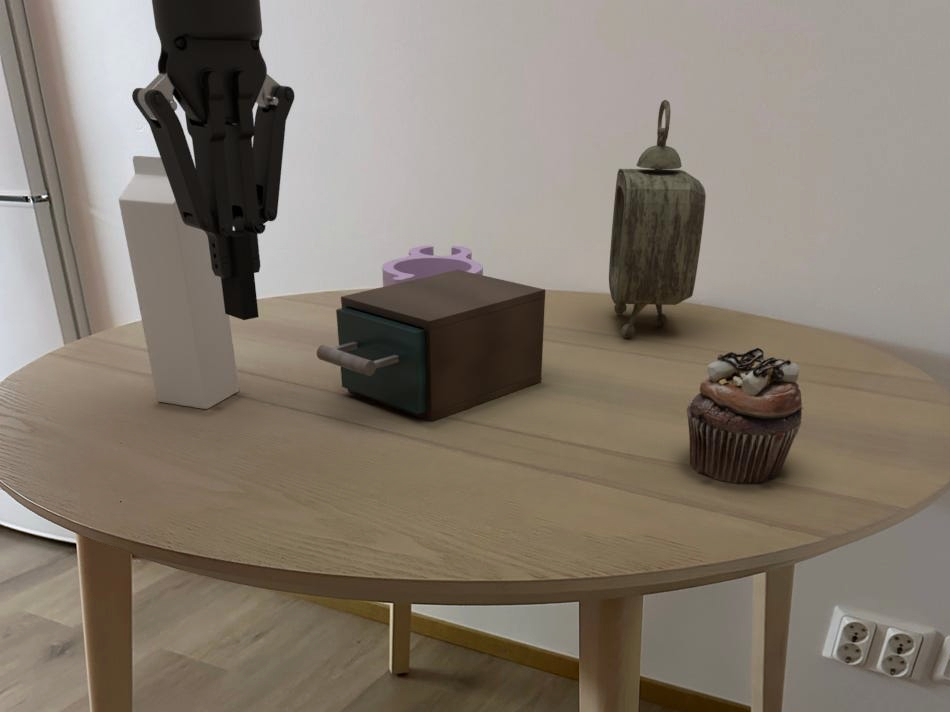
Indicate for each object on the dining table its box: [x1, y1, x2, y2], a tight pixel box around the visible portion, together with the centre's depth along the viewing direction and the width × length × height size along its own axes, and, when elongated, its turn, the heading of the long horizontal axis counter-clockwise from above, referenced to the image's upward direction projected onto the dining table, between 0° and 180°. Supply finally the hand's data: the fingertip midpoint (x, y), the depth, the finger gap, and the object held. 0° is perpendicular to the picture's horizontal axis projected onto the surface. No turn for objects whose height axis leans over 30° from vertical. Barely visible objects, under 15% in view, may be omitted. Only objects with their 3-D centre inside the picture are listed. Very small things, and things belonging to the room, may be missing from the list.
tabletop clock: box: [608, 99, 707, 339], centre depth 111 cm, size 14×9×25 cm, turn 178°
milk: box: [118, 155, 240, 410], centre depth 89 cm, size 6×6×22 cm
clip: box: [381, 244, 484, 287], centre depth 118 cm, size 20×12×7 cm, turn 176°
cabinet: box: [340, 270, 546, 422], centre depth 95 cm, size 17×13×10 cm
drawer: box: [316, 307, 427, 414], centre depth 93 cm, size 20×11×8 cm, turn 137°
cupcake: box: [686, 347, 804, 485], centre depth 79 cm, size 10×10×10 cm
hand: (241, 315), depth 78 cm, fingers closed
